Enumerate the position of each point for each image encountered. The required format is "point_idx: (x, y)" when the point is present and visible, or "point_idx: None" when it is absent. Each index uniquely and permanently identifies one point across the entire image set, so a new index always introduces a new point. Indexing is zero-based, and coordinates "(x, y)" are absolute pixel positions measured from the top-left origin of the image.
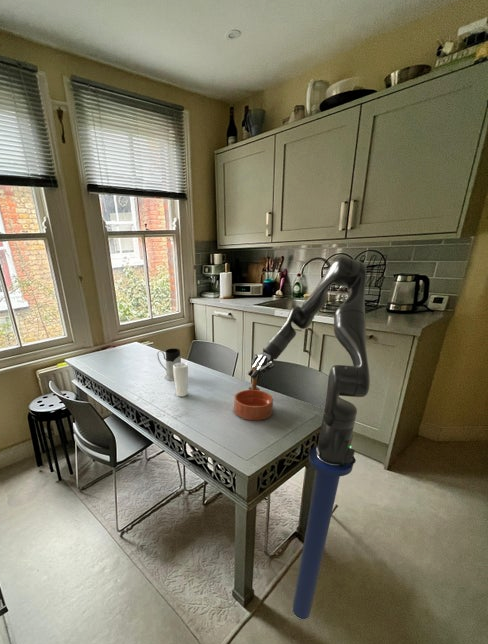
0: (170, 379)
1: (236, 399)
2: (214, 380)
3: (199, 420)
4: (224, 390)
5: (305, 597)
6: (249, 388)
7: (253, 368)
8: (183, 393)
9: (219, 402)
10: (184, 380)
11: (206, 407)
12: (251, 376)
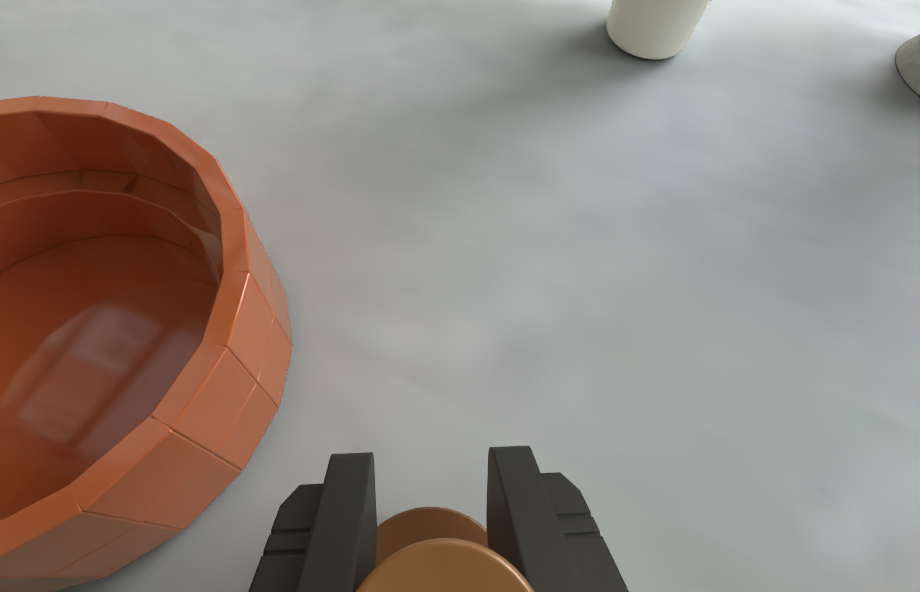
0: (908, 42)
1: (99, 113)
2: (912, 332)
3: (249, 11)
4: (646, 324)
5: None
6: (478, 543)
7: (425, 544)
8: (613, 9)
9: (421, 190)
10: None
11: (388, 92)
12: (354, 458)
